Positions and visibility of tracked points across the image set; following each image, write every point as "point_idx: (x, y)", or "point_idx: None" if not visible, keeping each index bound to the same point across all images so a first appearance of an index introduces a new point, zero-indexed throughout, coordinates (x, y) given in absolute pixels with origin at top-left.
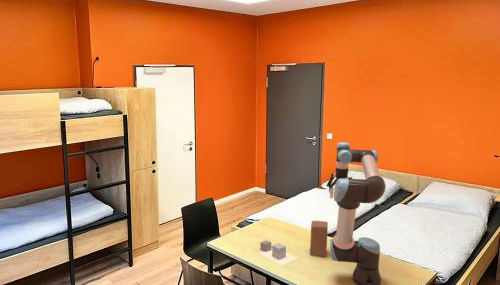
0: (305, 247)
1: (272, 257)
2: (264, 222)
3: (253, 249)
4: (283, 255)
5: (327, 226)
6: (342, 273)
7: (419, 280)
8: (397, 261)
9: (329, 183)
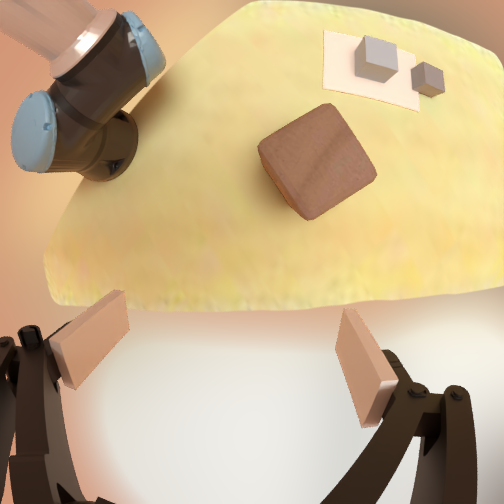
0: None
1: None
2: None
3: None
4: (357, 64)
5: (271, 170)
6: (165, 118)
7: (47, 246)
8: None
9: (445, 433)
